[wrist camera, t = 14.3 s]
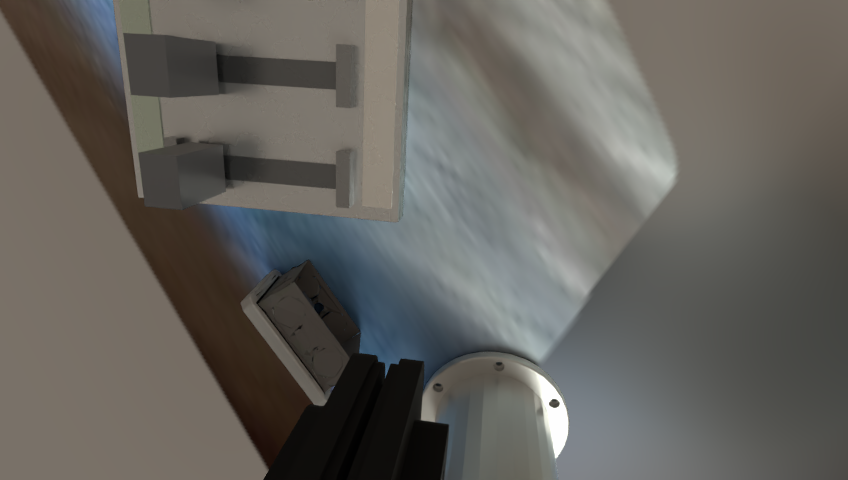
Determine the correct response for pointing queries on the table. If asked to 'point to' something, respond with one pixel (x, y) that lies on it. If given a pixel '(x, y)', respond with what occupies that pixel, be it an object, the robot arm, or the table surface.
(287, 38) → the panel
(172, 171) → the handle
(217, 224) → the table surface
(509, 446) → the robot arm
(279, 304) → the electrical switch
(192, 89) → the handle middle
